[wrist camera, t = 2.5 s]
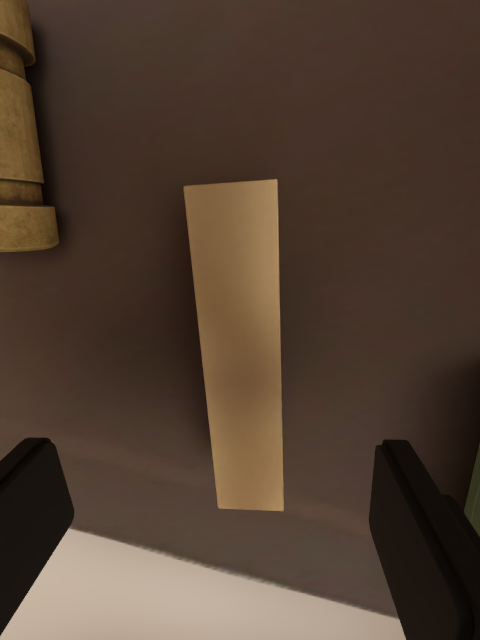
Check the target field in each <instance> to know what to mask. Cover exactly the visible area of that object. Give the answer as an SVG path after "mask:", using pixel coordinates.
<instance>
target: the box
mask: <svg viewBox="0 0 480 640" xmlns="http://www.w3.org/2000/svg"><path fill="white" fill-rule="evenodd" d="M464 514H465V515H466V517H467V518H468V520H469V521H470V523H471V524H472V526H473V527H474V529H475V530H476V532H477V533H478V535H479V536H480V443H479V447H478V452H477V456H476V461H475V465H474V469H473V474H472V478H471V482H470V487H469V491H468V495H467V500H466V504H465V508H464Z"/></svg>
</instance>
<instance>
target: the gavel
mask: <svg viewBox="0 0 480 640" xmlns="http://www.w3.org/2000/svg"><path fill="white" fill-rule="evenodd" d="M34 62H35V52H34V45H33V37H32V29H31V22H30V14H29V6H28V4H27V2H26V0H0V252H19V251H34V250H43V249H49V248H52V247H54V246H56V245H57V244H58V243H59V237H58V229H57V222H56V214H55V207H53V206H48V205H43V198H42V191H41V184H43V183H44V179H43V171H42V164H41V157H40V149H39V142H38V135H37V127H36V120H35V113H34V106H33V98H32V91H31V85H30V84H29V83H28V82H27V81H26V77H25V70H24V67H27V66H30V65H32V64H34Z"/></svg>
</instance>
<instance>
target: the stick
mask: <svg viewBox="0 0 480 640" xmlns="http://www.w3.org/2000/svg"><path fill="white" fill-rule="evenodd" d="M183 189H184V198H185V207H186V217H187V226H188V235H189V244H190V253H191V263H192V272H193V281H194V290H195V300H196V309H197V318H198V327H199V336H200V346H201V355H202V364H203V373H204V382H205V392H206V401H207V410H208V419H209V429H210V438H211V447H212V456H213V465H214V475H215V484H216V493H217V502H218V508H222V509H246V510H270V511H283V510H284V499H283V445H282V390H281V336H280V282H279V228H278V181H277V179H270V180H257V181H243V182H229V183H216V184H202V185H188V186H184V187H183Z"/></svg>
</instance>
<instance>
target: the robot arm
mask: <svg viewBox="0 0 480 640" xmlns="http://www.w3.org/2000/svg"><path fill="white" fill-rule="evenodd" d="M73 518H74V508H73V504H72V501H71V497H70V494H69V491H68V487H67V484H66V480H65V477H64V474H63V470H62V467H61V463H60V460H59V457H58V453H57V450H56V447H55V445H54V444H53V443H51V441H50V439H48V438H26V439H24V440H23V441H21V442H20V443H19V444H18V445H17V446H16V447H15V448H14V449H13V450H12V451H11V452H10V453H8V454H7V455H6V456H5V457H4V458H3V459H2V460H1V461H0V635H1V634H2V632H3V630H4V629H5V628H6V626H7V624H8V623H9V621H10V620H11V618H12V616H13V615H14V613H15V612H16V610H17V609H18V607H19V605H20V604H21V602H22V601H23V599H24V598H25V596H26V594H27V593H28V591H29V590H30V588H31V586H32V585H33V583H34V582H35V580H36V579H37V577H38V575H39V574H40V572H41V571H42V569H43V567H44V566H45V564H46V563H47V561H48V560H49V558H50V556H51V555H52V553H53V552H54V550H55V549H56V547H57V545H58V544H59V542H60V541H61V539H62V537H63V536H64V534H65V533H66V531H67V530H68V528H69V527H70V525H71V523H72V521H73ZM369 525H370V530H371V534H372V537H373V540H374V543H375V547H376V550H377V553H378V556H379V559H380V562H381V565H382V568H383V571H384V574H385V577H386V580H387V583H388V586H389V589H390V592H391V595H392V598H393V601H394V604H395V607H396V610H397V613H398V616H399V619H400V622H401V625H402V628H403V631H404V634H405V637H406V640H480V536H479V535H478V533H477V532H476V530H475V529H474V527H473V526H472V524H471V523H470V521H469V520H468V518H467V517H466V515H465V514H464V512H463V511H462V509H461V508H460V506H459V505H458V503H457V502H456V501H455V500H454V498H452V497H451V496H449V495H442V494H441V492H440V491H439V489H438V487H437V486H436V484H435V483H434V481H433V480H432V478H431V476H430V475H429V473H428V472H427V470H426V468H425V467H424V465H423V464H422V462H421V460H420V459H419V457H418V456H417V454H416V453H415V451H414V449H413V448H412V446H411V445H410V443H409V442H408V441H407V440H383V442H382V445H377V446H376V450H375V460H374V471H373V482H372V492H371V503H370V514H369Z"/></svg>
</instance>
